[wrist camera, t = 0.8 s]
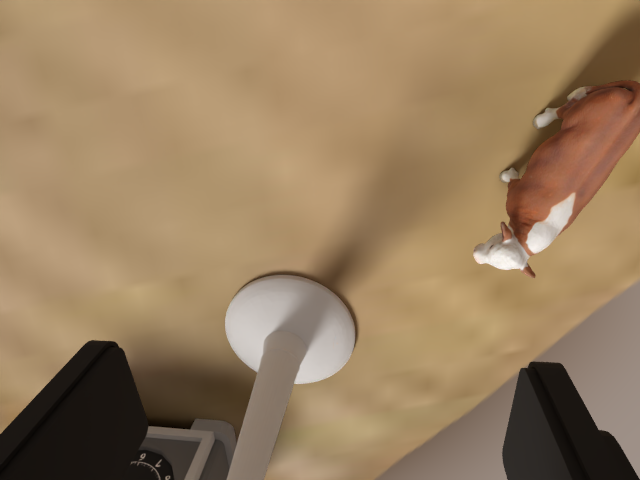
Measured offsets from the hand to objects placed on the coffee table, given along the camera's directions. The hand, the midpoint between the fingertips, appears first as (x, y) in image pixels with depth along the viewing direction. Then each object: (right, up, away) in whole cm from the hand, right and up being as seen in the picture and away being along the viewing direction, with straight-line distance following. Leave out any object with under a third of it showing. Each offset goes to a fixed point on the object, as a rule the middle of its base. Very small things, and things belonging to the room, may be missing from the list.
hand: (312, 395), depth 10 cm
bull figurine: (+16, +10, +21) cm, 28 cm away
